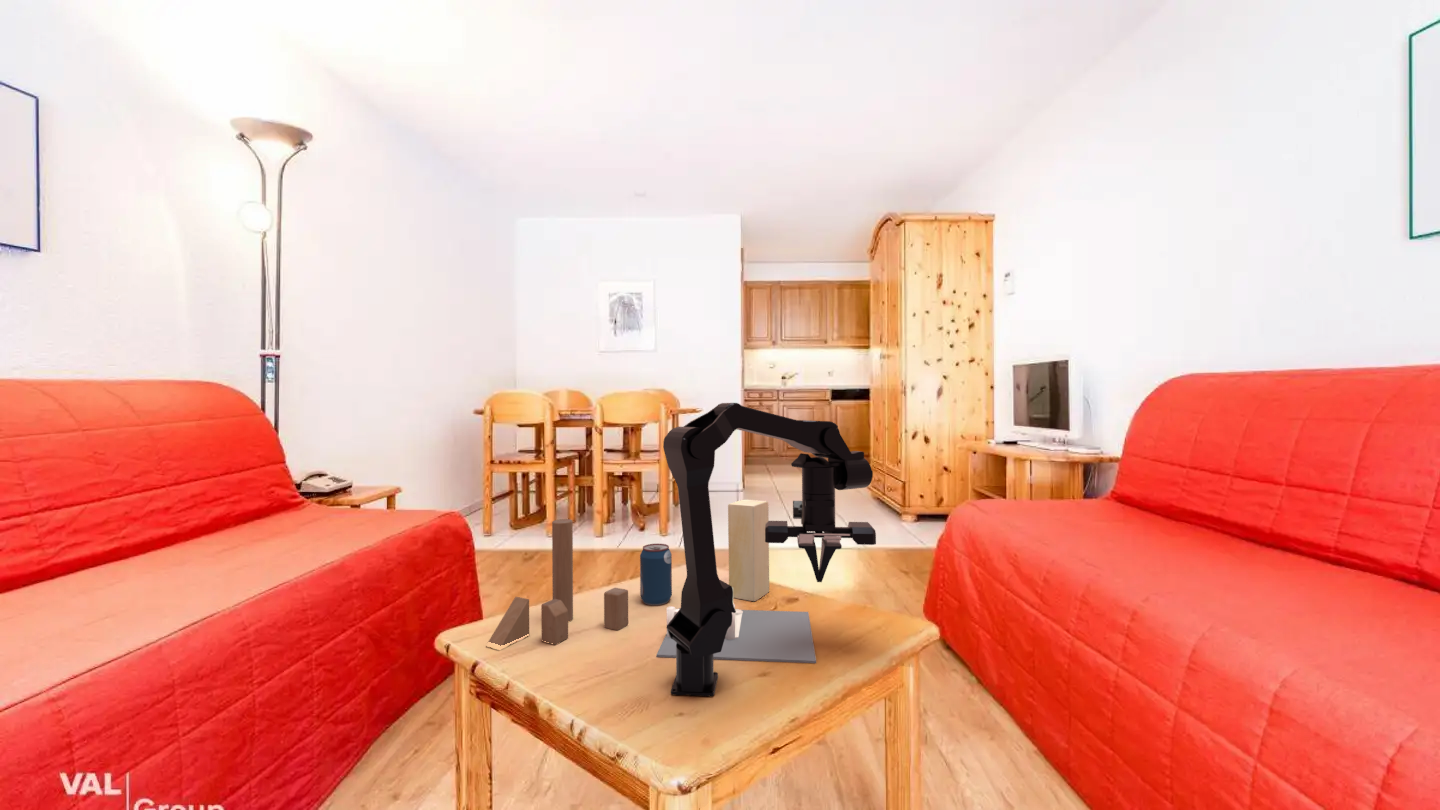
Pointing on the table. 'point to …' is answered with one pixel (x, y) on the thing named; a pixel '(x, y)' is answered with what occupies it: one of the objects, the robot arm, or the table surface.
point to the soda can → (655, 574)
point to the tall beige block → (748, 549)
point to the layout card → (759, 637)
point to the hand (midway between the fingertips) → (819, 581)
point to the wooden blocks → (559, 598)
